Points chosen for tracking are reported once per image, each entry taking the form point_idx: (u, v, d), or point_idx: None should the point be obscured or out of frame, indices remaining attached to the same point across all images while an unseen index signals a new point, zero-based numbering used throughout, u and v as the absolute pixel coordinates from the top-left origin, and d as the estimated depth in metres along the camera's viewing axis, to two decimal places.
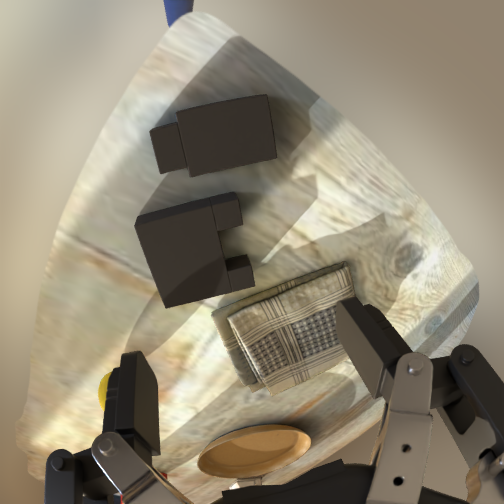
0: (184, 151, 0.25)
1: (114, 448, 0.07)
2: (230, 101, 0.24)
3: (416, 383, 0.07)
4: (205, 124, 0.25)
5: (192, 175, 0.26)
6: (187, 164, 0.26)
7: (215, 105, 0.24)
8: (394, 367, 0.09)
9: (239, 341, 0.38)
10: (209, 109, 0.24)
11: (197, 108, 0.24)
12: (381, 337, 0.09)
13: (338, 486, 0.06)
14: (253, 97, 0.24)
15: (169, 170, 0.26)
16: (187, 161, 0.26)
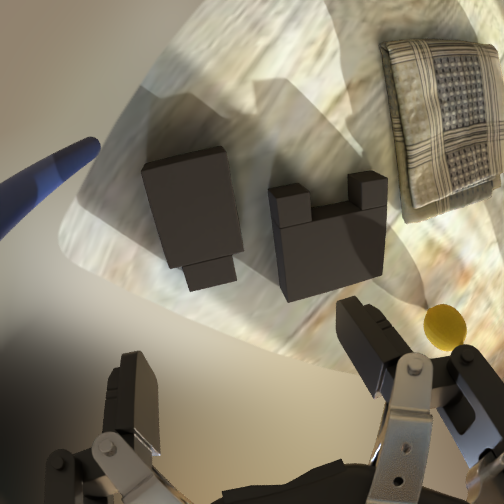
0: (213, 258, 0.24)
1: (113, 448, 0.07)
2: (153, 213, 0.21)
3: (416, 383, 0.07)
4: (183, 238, 0.23)
5: (241, 249, 0.24)
6: (228, 255, 0.24)
7: (159, 230, 0.22)
8: (394, 367, 0.09)
9: None
10: (165, 235, 0.22)
11: (164, 248, 0.23)
12: (381, 337, 0.09)
13: (338, 486, 0.06)
14: (146, 187, 0.20)
15: (233, 272, 0.25)
16: (225, 255, 0.24)
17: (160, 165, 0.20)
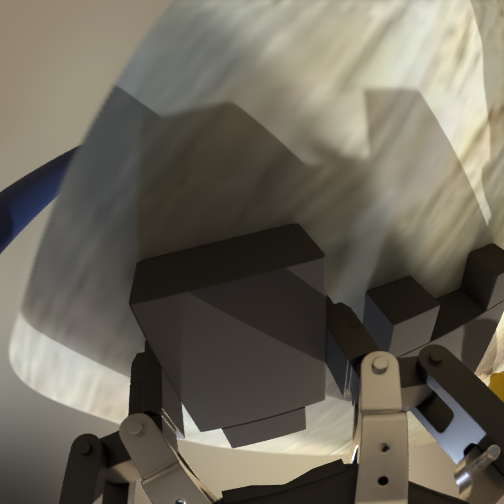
0: (275, 415, 0.13)
1: (142, 430, 0.07)
2: (166, 372, 0.10)
3: (383, 381, 0.08)
4: (225, 400, 0.11)
5: (322, 398, 0.13)
6: (300, 408, 0.13)
7: (180, 393, 0.11)
8: (360, 365, 0.09)
9: None
10: (192, 399, 0.11)
11: (190, 413, 0.11)
12: (348, 335, 0.10)
13: (338, 486, 0.06)
14: (145, 333, 0.09)
15: (303, 422, 0.14)
16: (294, 409, 0.13)
17: (173, 289, 0.09)
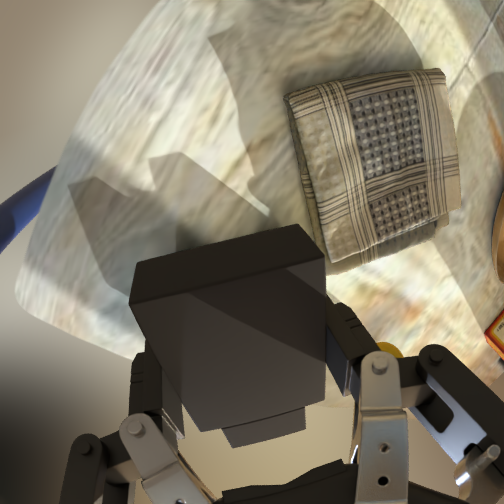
0: (275, 415, 0.13)
1: (142, 430, 0.07)
2: (166, 373, 0.10)
3: (383, 381, 0.08)
4: (225, 401, 0.11)
5: (322, 398, 0.13)
6: (300, 408, 0.13)
7: (180, 394, 0.11)
8: (360, 365, 0.09)
9: None
10: (191, 399, 0.11)
11: (190, 413, 0.11)
12: (348, 335, 0.10)
13: (338, 486, 0.06)
14: (145, 333, 0.09)
15: (303, 423, 0.14)
16: (294, 409, 0.13)
17: (172, 290, 0.09)
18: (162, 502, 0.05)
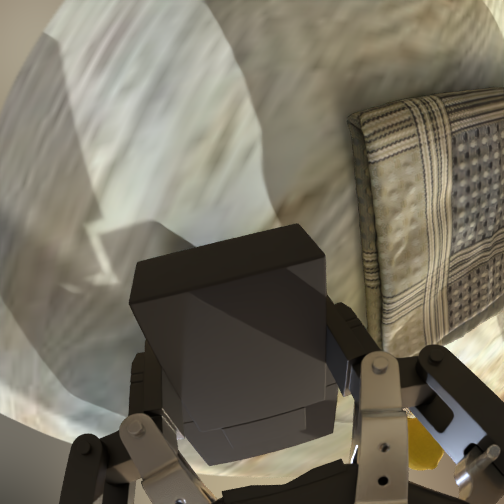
0: (275, 415, 0.13)
1: (142, 430, 0.07)
2: (166, 372, 0.10)
3: (383, 381, 0.08)
4: (224, 401, 0.11)
5: (322, 398, 0.13)
6: (300, 408, 0.13)
7: (180, 393, 0.11)
8: (360, 365, 0.09)
9: None
10: (192, 399, 0.11)
11: (190, 412, 0.11)
12: (348, 335, 0.10)
13: (338, 486, 0.06)
14: (145, 333, 0.09)
15: (303, 422, 0.14)
16: (294, 409, 0.13)
17: (173, 289, 0.09)
18: (162, 502, 0.05)
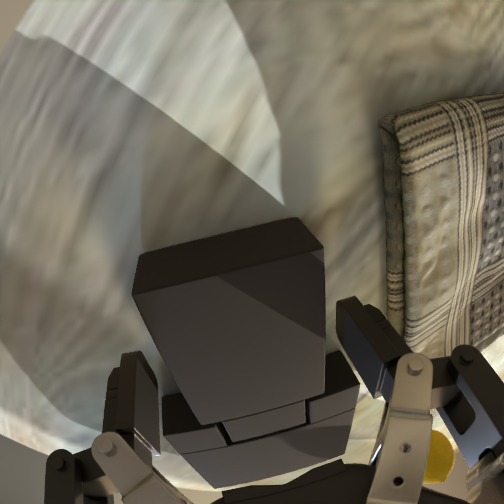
0: (275, 408, 0.13)
1: (114, 448, 0.07)
2: (167, 364, 0.10)
3: (416, 383, 0.07)
4: (225, 393, 0.12)
5: (321, 391, 0.13)
6: (299, 401, 0.13)
7: (181, 385, 0.11)
8: (394, 367, 0.09)
9: None
10: (192, 391, 0.11)
11: (191, 405, 0.12)
12: (381, 337, 0.09)
13: (338, 486, 0.06)
14: (147, 324, 0.09)
15: (303, 416, 0.14)
16: (294, 402, 0.13)
17: (174, 280, 0.09)
18: None
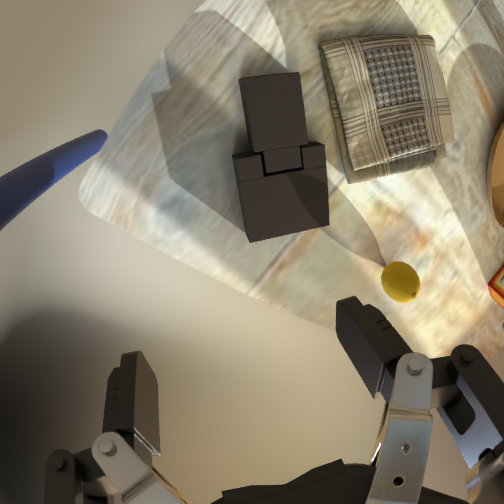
0: (286, 146, 0.31)
1: (114, 448, 0.07)
2: (248, 108, 0.29)
3: (416, 383, 0.07)
4: (267, 128, 0.30)
5: (306, 141, 0.32)
6: (297, 145, 0.32)
7: (251, 120, 0.29)
8: (394, 367, 0.09)
9: (382, 161, 0.35)
10: (254, 125, 0.30)
11: (252, 134, 0.30)
12: (381, 337, 0.09)
13: (338, 486, 0.06)
14: (245, 89, 0.28)
15: (299, 159, 0.32)
16: (295, 144, 0.32)
17: (255, 76, 0.27)
18: None
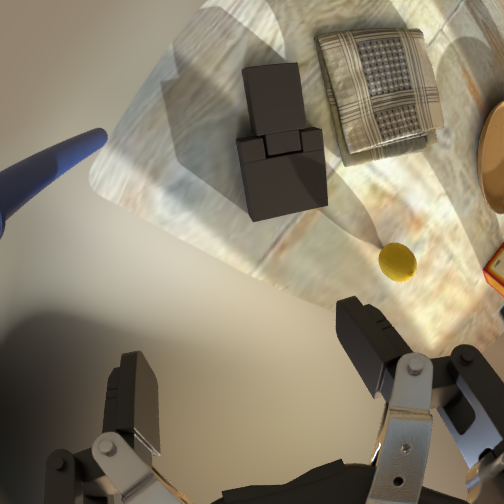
0: (287, 130, 0.33)
1: (114, 448, 0.07)
2: (251, 95, 0.31)
3: (416, 383, 0.07)
4: (268, 114, 0.32)
5: (305, 126, 0.33)
6: (296, 129, 0.33)
7: (253, 106, 0.31)
8: (394, 367, 0.09)
9: (376, 146, 0.37)
10: (257, 110, 0.32)
11: (255, 119, 0.32)
12: (381, 337, 0.09)
13: (338, 486, 0.06)
14: (248, 78, 0.30)
15: (299, 142, 0.34)
16: (294, 129, 0.33)
17: (257, 66, 0.29)
18: None
